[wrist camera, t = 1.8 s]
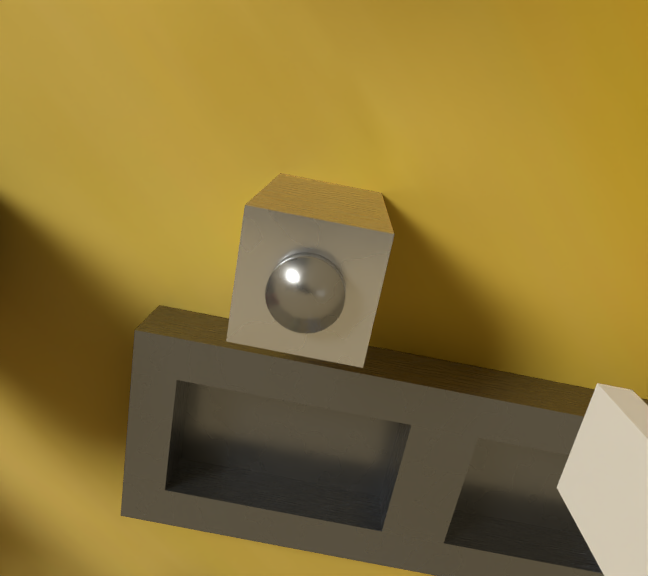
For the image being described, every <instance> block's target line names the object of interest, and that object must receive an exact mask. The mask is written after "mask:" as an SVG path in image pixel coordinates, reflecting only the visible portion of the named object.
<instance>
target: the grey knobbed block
mask: <svg viewBox="0 0 648 576" xmlns="http://www.w3.org/2000/svg"><path fill="white" fill-rule="evenodd" d="M393 238H394V231H393V228H392V225H391V222H390V218H389V215H388V212H387V209H386V206H385V202H384V199H383V196H382V193H379V192H374V191H369V190H364V189H358V188H353V187H348V186H343V185H338V184H333V183H328V182H323V181H318V180H313V179H307V178H302V177H297V176H292V175H287V174H282V173H280V174H279V175H278V176H277V177H276V178H275V179H273V180H272V181H271V182H270V183H269V184H268V185H267V186H266V187H265V188H263V189H262V190H261V191H260V192H259V193H258V194H257V195H256V196H254V197H253V198H252V199H251V200H250V201H249V202H248V203H247V204H246V205H245V209H244V216H243V223H242V230H241V238H240V245H239V252H238V259H237V266H236V274H235V281H234V288H233V295H232V303H231V310H230V317H229V324H228V332H227V339H226V341H227V342H232V343H237V344H242V345H247V346H252V347H258V348H263V349H268V350H273V351H278V352H283V353H289V354H294V355H299V356H304V357H309V358H315V359H320V360H325V361H330V362H335V363H340V364H346V365H351V366H356V367H361V368H363V366H364V361H365V357H366V353H367V349H368V344H369V340H370V336H371V332H372V327H373V323H374V319H375V315H376V310H377V306H378V302H379V298H380V293H381V289H382V285H383V281H384V276H385V272H386V268H387V263H388V259H389V255H390V251H391V246H392V242H393Z"/></svg>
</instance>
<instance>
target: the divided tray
mask: <svg viewBox="0 0 648 576" xmlns="http://www.w3.org/2000/svg"><path fill="white" fill-rule="evenodd" d="M228 324H229V319H227V318H222V317H217V316H212V315H207V314H201V313H196V312H191V311H186V310H181V309H176V308H170V307H165V306H160V305H159V306H158V307H157V308H156V309H155V310H154V311H153V312H152V313H151V314H150V315H149V316H148V317H147V318H146V319H145V320H144V321H143V322H142V323H141V324H140V325H139V326H138V327H137V328H136V329H135V335H134V348H133V361H132V374H131V388H130V401H129V414H128V427H127V440H126V453H125V467H124V480H123V493H122V506H121V516H125V517H131V518H136V519H141V520H146V521H152V522H157V523H162V524H168V525H173V526H178V527H183V528H189V529H194V530H199V531H204V532H210V533H215V534H220V535H225V536H231V537H236V538H241V539H247V540H252V541H257V542H262V543H268V544H273V545H278V546H283V547H289V548H294V549H299V550H304V551H310V552H315V553H320V554H325V555H331V556H336V557H341V558H347V559H352V560H357V561H362V562H368V563H373V564H378V565H383V566H389V567H394V568H399V569H404V570H410V571H415V572H420V573H426V574H431V575H436V576H604V574H603V572H602V571H601V569H600V567H599V565H598V563H597V561H596V560H595V558H594V556H593V554H592V552H591V550H590V548H589V547H588V545H587V543H586V541H585V539H584V537H583V535H582V534H581V532H580V530H579V528H578V526H577V524H576V522H575V521H574V519H573V517H572V515H571V513H570V511H569V509H568V508H567V506H566V504H565V502H564V500H563V498H562V497H561V495H560V493H559V491H558V489H557V485H558V483H559V480H560V478H561V475H562V472H563V470H564V467H565V465H566V462H567V460H568V457H569V454H570V452H571V449H572V447H573V444H574V442H575V439H576V437H577V434H578V431H579V429H580V426H581V424H582V421H583V419H584V416H585V414H586V411H587V408H588V406H589V403H590V401H591V398H592V396H593V393H594V391H595V390H594V389H589V388H584V387H579V386H574V385H569V384H563V383H558V382H553V381H548V380H543V379H538V378H532V377H527V376H522V375H517V374H512V373H507V372H501V371H496V370H491V369H486V368H481V367H476V366H470V365H465V364H460V363H455V362H450V361H445V360H439V359H434V358H429V357H424V356H419V355H413V354H408V353H403V352H398V351H393V350H388V349H382V348H377V347H372V346H368V349H367V353H366V357H365V361H364V366H363V368H361V367H356V366H351V365H346V364H340V363H335V362H330V361H325V360H320V359H315V358H309V357H304V356H299V355H294V354H289V353H283V352H278V351H273V350H268V349H263V348H258V347H252V346H247V345H242V344H237V343H232V342H227V341H226V339H227V332H228ZM642 400H643V401H644V402H645V403H646V404H647V405H648V400H646V399H642Z"/></svg>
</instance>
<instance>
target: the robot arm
mask: <svg viewBox="0 0 648 576" xmlns="http://www.w3.org/2000/svg"><path fill="white" fill-rule="evenodd" d="M557 489H558V491H559V493H560V495H561V497H562V498H563V500H564V502H565V504H566V506H567V508H568V509H569V511H570V513H571V515H572V517H573V519H574V521H575V522H576V524H577V526H578V528H579V530H580V532H581V534H582V535H583V537H584V539H585V541H586V543H587V545H588V547H589V548H590V550H591V552H592V554H593V556H594V558H595V560H596V561H597V563H598V565H599V567H600V569H601V571H602V572H603V574H604V576H648V405H647V404H646V403H645V402H644V401H643V400H642V399H641V398H640V397H639V396H638V395H637V394H636V393H635V392H634V391H633V390H630V389H624V388H619V387H614V386H609V385H604V384H599V383H597V385H596V388H595V391H594V393H593V396H592V398H591V401H590V403H589V406H588V408H587V411H586V414H585V416H584V419H583V421H582V424H581V426H580V429H579V431H578V434H577V437H576V439H575V442H574V444H573V447H572V449H571V452H570V454H569V457H568V460H567V462H566V465H565V467H564V470H563V472H562V475H561V478H560V480H559V483H558V485H557Z"/></svg>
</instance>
